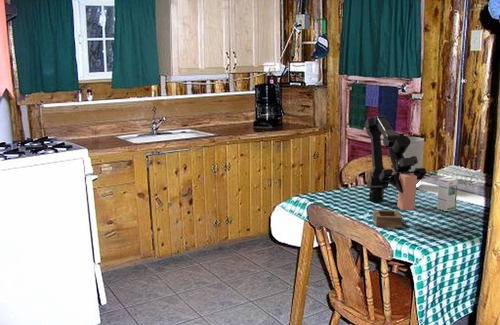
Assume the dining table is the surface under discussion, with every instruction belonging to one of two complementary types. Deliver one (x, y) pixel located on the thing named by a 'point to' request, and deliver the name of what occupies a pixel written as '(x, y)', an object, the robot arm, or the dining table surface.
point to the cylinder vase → (415, 151)
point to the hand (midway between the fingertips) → (408, 192)
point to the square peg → (407, 191)
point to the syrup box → (447, 193)
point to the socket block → (387, 218)
